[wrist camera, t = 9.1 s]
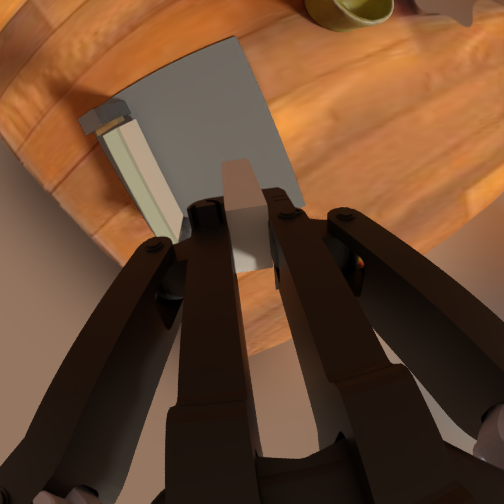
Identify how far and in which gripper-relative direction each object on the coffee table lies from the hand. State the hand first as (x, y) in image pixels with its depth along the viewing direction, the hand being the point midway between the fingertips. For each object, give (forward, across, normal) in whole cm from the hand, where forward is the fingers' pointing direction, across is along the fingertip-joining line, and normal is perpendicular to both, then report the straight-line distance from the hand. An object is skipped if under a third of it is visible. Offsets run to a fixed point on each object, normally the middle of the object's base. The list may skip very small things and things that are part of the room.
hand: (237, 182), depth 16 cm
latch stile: (+22, -13, +5) cm, 26 cm away
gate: (+22, -10, -4) cm, 24 cm away
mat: (+22, -4, -3) cm, 23 cm away
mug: (+23, +18, +18) cm, 34 cm away
